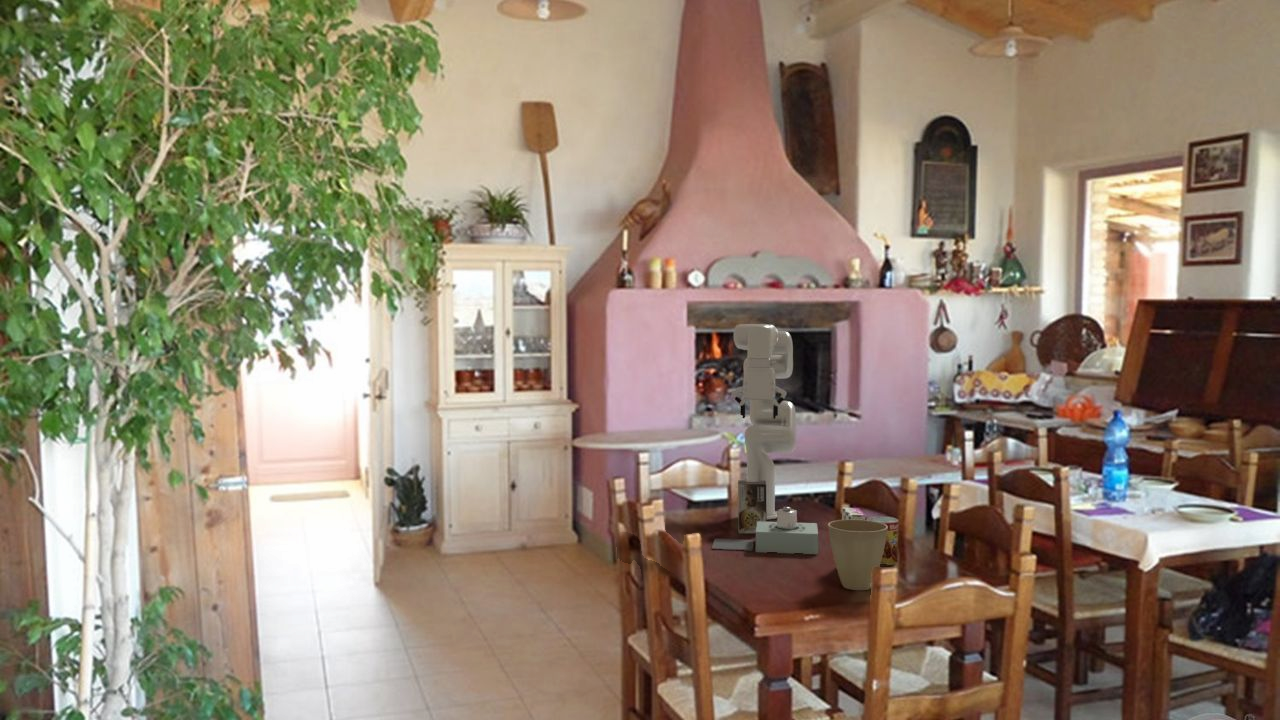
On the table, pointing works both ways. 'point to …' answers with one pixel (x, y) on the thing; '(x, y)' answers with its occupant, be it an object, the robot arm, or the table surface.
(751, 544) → the mat
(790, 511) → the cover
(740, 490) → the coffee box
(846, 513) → the candy bar box
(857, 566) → the plant pot
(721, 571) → the table surface
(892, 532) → the canned food
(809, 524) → the block
